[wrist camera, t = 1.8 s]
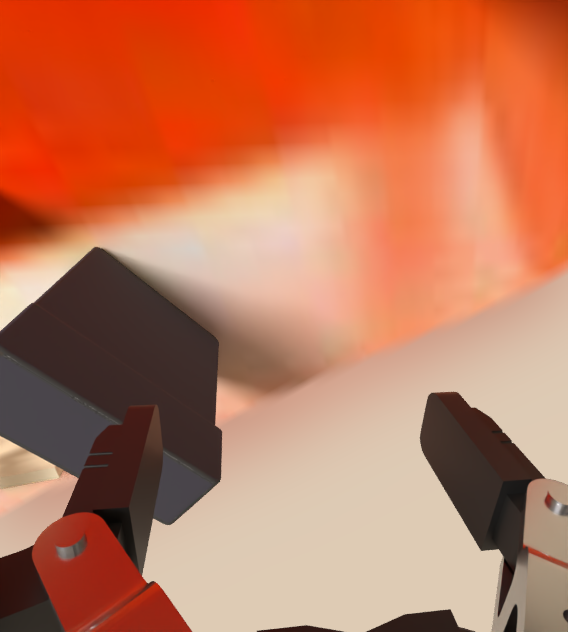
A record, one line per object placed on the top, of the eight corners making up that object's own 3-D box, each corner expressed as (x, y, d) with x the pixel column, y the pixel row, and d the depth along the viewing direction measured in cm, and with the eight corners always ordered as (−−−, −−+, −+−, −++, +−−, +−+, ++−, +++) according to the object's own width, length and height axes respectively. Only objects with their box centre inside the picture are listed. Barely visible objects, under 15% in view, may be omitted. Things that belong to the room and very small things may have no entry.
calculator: (64, 282, 30) (-76, 417, 16) (102, 237, 29) (-12, 340, 15) (188, 371, 34) (161, 539, 20) (225, 335, 33) (222, 485, 19)
